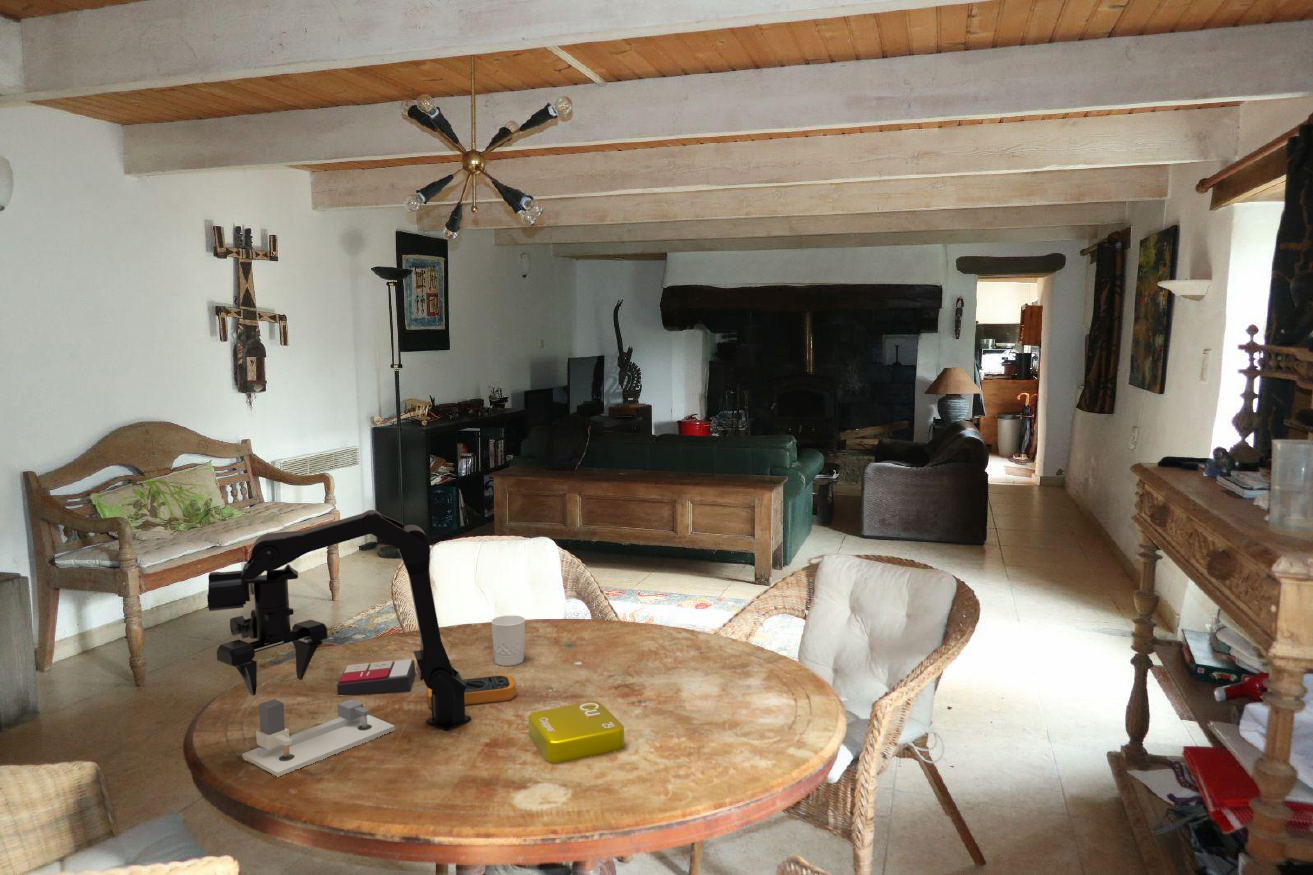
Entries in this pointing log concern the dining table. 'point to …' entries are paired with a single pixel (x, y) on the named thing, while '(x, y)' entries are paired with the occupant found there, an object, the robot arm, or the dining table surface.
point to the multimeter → (486, 689)
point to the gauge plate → (322, 740)
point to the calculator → (377, 678)
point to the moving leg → (273, 727)
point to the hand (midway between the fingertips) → (277, 686)
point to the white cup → (508, 639)
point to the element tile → (575, 732)
